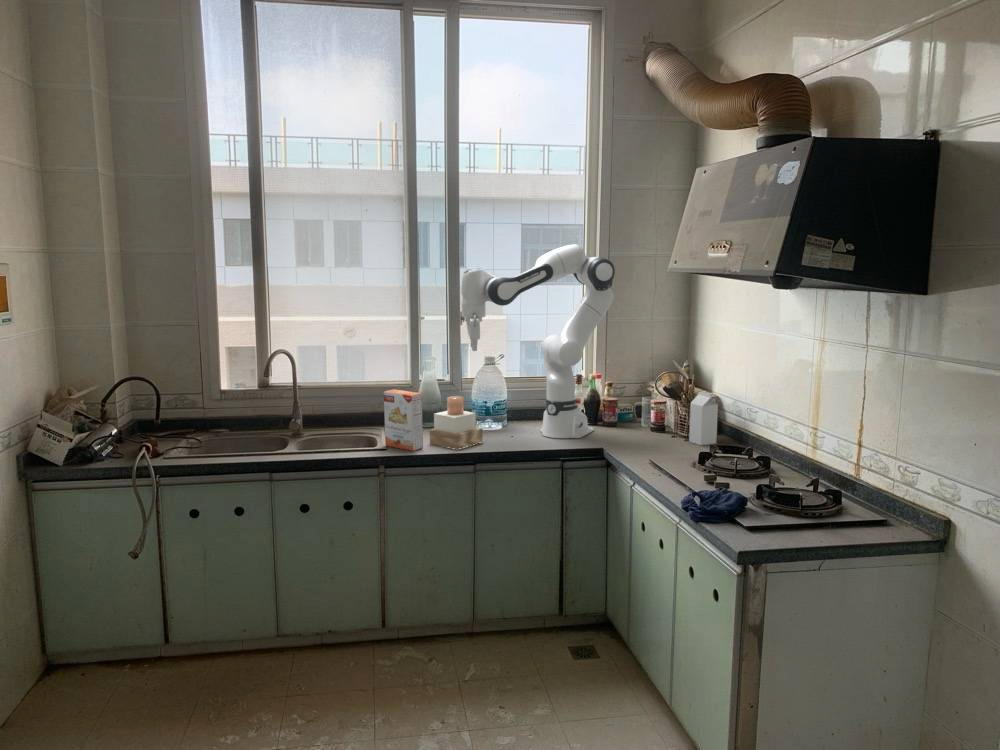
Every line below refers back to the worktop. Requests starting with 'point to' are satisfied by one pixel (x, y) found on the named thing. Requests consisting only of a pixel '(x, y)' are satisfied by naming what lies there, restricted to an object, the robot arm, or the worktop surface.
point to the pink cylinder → (455, 405)
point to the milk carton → (703, 420)
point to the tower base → (456, 438)
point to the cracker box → (403, 419)
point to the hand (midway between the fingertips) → (473, 349)
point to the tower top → (454, 422)
